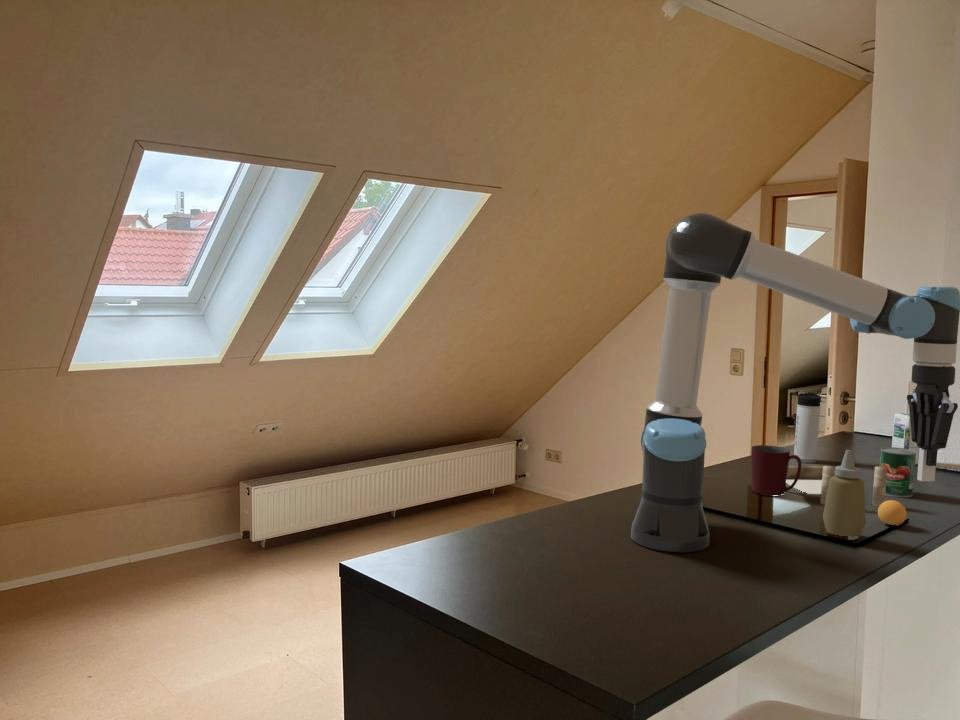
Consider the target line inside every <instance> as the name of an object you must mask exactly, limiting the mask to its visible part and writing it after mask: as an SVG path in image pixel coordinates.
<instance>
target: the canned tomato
mask: <svg viewBox="0 0 960 720" xmlns="http://www.w3.org/2000/svg"><path fill="white" fill-rule="evenodd" d="M915 460H916V451H913V450H910V449H904V448H896V447H892V446H888V447H886V446H885V447H881V448H880V458H879V467H885V468H887V477H886V490H885V496H886V497H887V496H889V497H895V498H912V496H913V497H914V495H913V492H914V483H915V482H914V481H915V471H916V468H915V467H916V464H915Z"/></svg>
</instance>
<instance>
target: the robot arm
mask: <svg viewBox="0 0 960 720" xmlns="http://www.w3.org/2000/svg"><path fill="white" fill-rule="evenodd" d="M754 234H755V233H754V232H752V231H749V230H748V229H747V230H746V229H744V228H742V227H739V226H738V225H734V224H732V223H730V222H728V221H727V220H724V219H722V218H720V217H719V216H716V215H714V214H711V213H706V212H696V213H693V214H689V215H687V216H685V217H683V218H682V219H680V220H679V221H678V222H677V223H676V224H675V225H674V226H673V227H672V229H671V230H670V231H669V233H668V236H667V238H666V241H665V262H664V267H663V269H664V270H663V278H662V280H663V282H664V283H665V284H666V285H667V287H668V288H669V290H668V295H667V296H668V297H667V304H666V312H665V321H664V328H663V336H662V342H661V350H660V358H659V365H658V366H659V367H658V374H657V383H656V389H655V398H654V400H653V401H652V402H651V403H649V404H647V406H646V411H645V419H644V427H643V431H642V432H641V436H640V437H641V438H640V446H641V451H642V457H643V460H642V461H643V463H642V481H641V482H642V483H641V485H642V486H641V500H640V503H639V506H638V508H637V510H636V513H635V515H634V519H633V521H632V524H631V526H630V527H631V531H630V538H631V539H632V541H634V543H636V544H638V545H640V546H642V547H645V548H648V549H652V550H656V551H661V552H668V553H669V552H670V553H694V552H699V551H700V552H701V551H703V550H706V549H707V548H708V547H709V546H710V536H711V535H710V529H709V527H708V523H707V519H706V516H705V511H704V508H703V495H704V494H703V492H704V475H705V474H704V473H705V457H706V455H705V454H706V453H705V451H706V448H707V439H706V431H705V430H704V428H703V427H702V421H703V416H704V415H703V414H704V413H702V411H701V409H699V408H698V405H697V402H698V394H699V389H700V387H699V386H700V380H701V373H702V365H703V358H704V357H703V356H704V350H705V344H706V343H705V342H706V337H707V336H706V335H707V327H708V321H709V312H710V307H711V306H710V305H711V300H712V299H711V298H712V292H713V291H715V289H717V288H719V286H721V281H722V278H725V279H728V280H731V281H733V280H736V279H739V278H741V279H743V280H746V281H748V282H750V283H751V282H752V283H754V284H757V285H759V286H763V287H764V288H768V289H770V290H772V291H776V292H778V293H781V294H784V295H787V296H789V297H791V298H794V299H797V300H800V301H802V302H805V303H808V304H810V305H813V306H816V307H818V308H822V309H824V310H826V311H828V312H832V313H835V314H838V315H840V316H843V317H846V318H849V321H850V326H851V329H852V330H853V332H854V333H855V332H856V333H863V334H864V333H865V334H869V335H870V334H882V335H888V336H894V337H899V338H902V339H905V340H909V339H913V349H912V361H913V362H914V364H913V365H912V368H911V379H910V380H911V382H912V383H914V384H916V386H915V391H914V392H913V394H907V395H906V401H907V403H908V409H909V414H910V424H911V437H912V442H916V443H917V446H918V447H919V452H918V464H917V477H916V479H917V480H918V481H920V482H935V481H936V469H937V468H936V467H937V466H936V465H937V464H938V463H937V461H938V451H939V450H940V449H941V450H942V449H946V447H947V446H948V445H947V443H948V440H949V435H950V431H951V427H952V424H953V419H954V415H955V413H956V411H957V409H959V405H958V403H957V402H952V401H951V400H950V391H949V387H950V386H952V385H954V384H955V381H956V367H955V366H953V365H954V364H956V362H957V361H956V360H957V349H958V348H957V345H958V334H959V325H960V324H959V323H960V290H959V288H957V287H955V286H919V287H918V288H917V291H916V294H915V295H907V294H904V293H902V292H899V291H896V290H893V289H890V288H887V287H886V286H883V285H880V284H878V283H874V282H872V281H870V280H868V279H867V280H866V279H864V278H861V277H859V276H855V275H853V274H850V273H847V272H845V271H842V270H839V269H836V268H834V267H831V266H828V265H825V264H823V263H821V262H817V261H815V260H812V259H810V258H806V257H804V256H801V255H798V254H795V253H793V252H791V251H789V250H788V251H787V250H785V249H782V248H780V247H777V246H773V245H771V244H769V243H766V242H763V241H760V240H758V239H756V237H755V235H754Z"/></svg>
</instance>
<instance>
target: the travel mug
mask: <svg viewBox="0 0 960 720" xmlns="http://www.w3.org/2000/svg"><path fill="white" fill-rule="evenodd" d="M821 398H822V397H821V395H820V394H816V393H815V392H807V393H799V394H798V395H797V405H796V406H797V408H796V417H795V418H796V419H795V420H796V421H795V433H794V434H795V435H794V446H793V447H794V448H793V455H797V456H798V457H799V458H800V459H801V463H802V464H814V463H816V462H817V459H818V446H819V434H820V433H819V431H820V418H821V417H820V414H821ZM793 460H794V461H795V462H798V461H797V460H796V459H793Z"/></svg>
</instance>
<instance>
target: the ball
mask: <svg viewBox="0 0 960 720" xmlns="http://www.w3.org/2000/svg"><path fill="white" fill-rule="evenodd" d="M877 515H878V518H879V519H880V521H881V522H882V523H883V522H884V523H883V524H885V523H888V524H893V525H896V526H900V525H902V524H903V523H904V522H905V520H906V519H907V510H906V507H905V506H904V505H903V504H902V503H901V502H899V501H897V500H893V499H889V500H885V502H883V503H882V504H881V505H880V506H878V509H877ZM896 526H895V527H896Z"/></svg>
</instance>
